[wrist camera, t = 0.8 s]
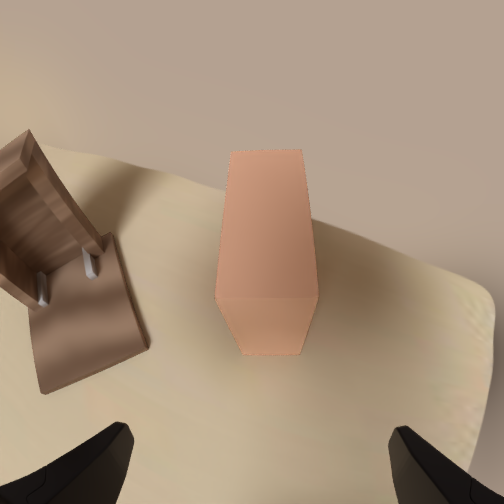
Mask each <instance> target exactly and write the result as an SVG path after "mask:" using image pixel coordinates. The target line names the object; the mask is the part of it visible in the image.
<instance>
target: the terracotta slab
mask: <svg viewBox="0 0 504 504" xmlns="http://www.w3.org/2000/svg"><path fill="white" fill-rule="evenodd" d="M318 299H319V291H318V279H317V268H316V257H315V247H314V238H313V229H312V220H311V212H310V205H309V197H308V189H307V182H306V175H305V168H304V161H303V155H302V150H256V151H237V152H236V151H235V152H231V158H230V164H229V172H228V180H227V188H226V196H225V205H224V213H223V222H222V231H221V240H220V249H219V259H218V268H217V279H216V289H215V300H216V302H217V304H218V306H219V308H220V310H221V312H222V315H223V317H224V319H225V321H226V323H227V325H228V327H229V329H230V331H231V333H232V335H233V337H234V339H235V341H236V343H237V345H238V347H239V348H240V350H241V352H242V354H243V355H300V352H301V350H302V347H303V344H304V341H305V338H306V335H307V332H308V329H309V326H310V323H311V320H312V317H313V314H314V311H315V308H316V305H317V302H318Z"/></svg>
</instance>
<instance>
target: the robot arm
mask: <svg viewBox="0 0 504 504" xmlns="http://www.w3.org/2000/svg"><path fill="white" fill-rule="evenodd" d="M133 446H134V437H133V435H132V433H131V431H130V428H129V426H128V425H127V424H126V423H122V422H115V423H113V424H111V425H110V426H108V427H107V428H105V429H104V430H102V431H101V432H99V433H98V434H96V435H95V436H93V437H92V438H90V439H88V440H87V441H85V442H84V443H82V444H81V445H79V446H77V447H76V448H74V449H73V450H71V451H69V452H68V453H66V454H64V455H63V456H61V457H59V458H58V459H56V460H54V461H53V462H51V463H49V464H48V465H47V466H44V467H42V468H41V469H39V470H37V471H35V472H33V473H31V474H29V475H27V476H25V477H23V478H20V479H18V480H15V481H13V482H10V483H8V484H5V485H2V486H0V504H116V502H117V499H118V496H119V494H120V491H121V488H122V486H123V483H124V480H125V477H126V474H127V470H128V466H129V462H130V458H131V454H132V450H133ZM388 448H389V455H390V461H391V469H392V477H393V483H394V487H395V491H396V495H397V499H398V503H399V504H504V497H503V496H501V495H499V494H497V493H495V492H494V491H492V490H490V489H489V488H487V487H486V486H484V485H483V484H481V483H480V482H478V481H477V480H476V479H474V478H472V477H471V476H470V475H469V474H468V473H466V472H465V471H464V470H463V469H461V468H460V467H459V466H457V465H456V464H455V463H453V462H452V461H451V460H450V459H448V458H447V457H446V456H445V455H443V454H442V453H441V452H439V451H438V450H437V449H436V448H434V447H433V446H432V445H431V444H429V443H428V442H427V441H426V440H424V439H423V438H422V437H421V436H419V435H418V434H417V433H416V432H414V431H413V430H412V429H411V428H410V427H408V426H406V425H405V426H400V427H396V428H395V429H394V431H393V433H392V436H391V438H390V440H389V443H388Z"/></svg>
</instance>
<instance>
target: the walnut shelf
mask: <svg viewBox="0 0 504 504" xmlns="http://www.w3.org/2000/svg"><path fill="white" fill-rule="evenodd" d="M0 287H1V288H2V289H4V290H5V291H6V292H8V293H9V294H10V295H12V296H13V297H14V298H16V299H17V300H19V301H20V302H21V303H23V304H24V305H26V306H27V307H28V314H29V325H30V334H31V342H32V349H33V355H34V362H35V367H36V373H37V378H38V383H39V387H40V392H41V393H42V394H45V395H46V394H49V393H51V392H54V391H56V390H58V389H61V388H63V387H66V386H68V385H70V384H73V383H75V382H77V381H80V380H82V379H84V378H87V377H89V376H91V375H94V374H96V373H98V372H100V371H103V370H105V369H107V368H109V367H112V366H114V365H116V364H118V363H121V362H123V361H125V360H127V359H129V358H132V357H134V356H136V355H138V354H140V353H142V352H144V351H147V350H149V349H148V346H147V344H146V341H145V338H144V336H143V333H142V330H141V327H140V324H139V322H138V319H137V316H136V313H135V310H134V307H133V304H132V300H131V297H130V294H129V291H128V288H127V284H126V281H125V278H124V274H123V271H122V267H121V263H120V260H119V256H118V252H117V248H116V244H115V240H114V236H113V235H112V233H111V232H109V233H107V234H106V235H104V236H102V237H101V236H100V235H99V234H98V232H97V231H96V230H95V228H94V227H93V226H92V224H91V223H90V222H89V220H88V219H87V217H86V216H85V215H84V213H83V212H82V211H81V209H80V208H79V206H78V205H77V204H76V202H75V201H74V199H73V198H72V196H71V195H70V194H69V192H68V191H67V189H66V188H65V186H64V185H63V183H62V182H61V180H60V179H59V177H58V176H57V174H56V173H55V171H54V169H53V168H52V166H51V165H50V163H49V162H48V160H47V158H46V157H45V155H44V153H43V152H42V150H41V149H40V147H39V145H38V143H37V142H36V140H35V138H34V137H33V135H32V133H31V132H30V130H29V129H28V130H27V131H25V132H24V133H22V134H21V135H20V136H18V137H17V138H15V139H14V140H13V141H11V142H10V143H9V144H7V145H6V146H5V147H3V148H2V149H1V150H0Z"/></svg>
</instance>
